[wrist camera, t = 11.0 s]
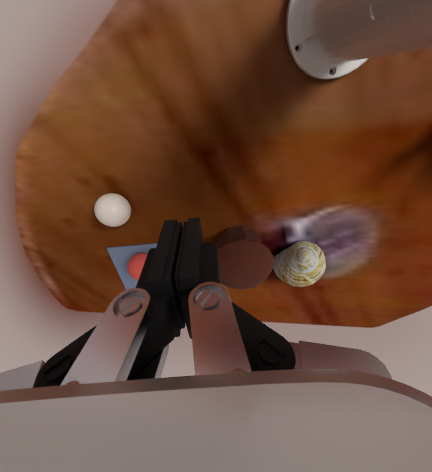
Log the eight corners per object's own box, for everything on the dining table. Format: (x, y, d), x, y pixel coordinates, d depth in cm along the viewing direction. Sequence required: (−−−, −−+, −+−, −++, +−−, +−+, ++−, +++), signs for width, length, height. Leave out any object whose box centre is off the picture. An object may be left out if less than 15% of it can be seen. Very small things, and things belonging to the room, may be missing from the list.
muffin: (206, 261, 48) (206, 298, 39) (212, 218, 41) (213, 250, 33) (259, 265, 49) (269, 301, 41) (272, 223, 43) (288, 256, 34)
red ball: (125, 286, 42) (136, 277, 47) (153, 282, 42) (161, 274, 47) (120, 257, 41) (132, 251, 47) (149, 254, 41) (157, 248, 46)
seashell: (274, 282, 51) (281, 301, 41) (267, 242, 50) (272, 252, 40) (319, 275, 49) (338, 293, 40) (313, 233, 48) (330, 241, 38)
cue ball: (85, 226, 35) (108, 222, 40) (118, 230, 34) (136, 226, 39) (86, 190, 34) (108, 192, 39) (119, 194, 33) (137, 195, 38)
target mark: (106, 247, 45) (106, 248, 44) (174, 241, 44) (173, 242, 44) (128, 293, 53) (128, 293, 52) (185, 288, 52) (185, 288, 52)
